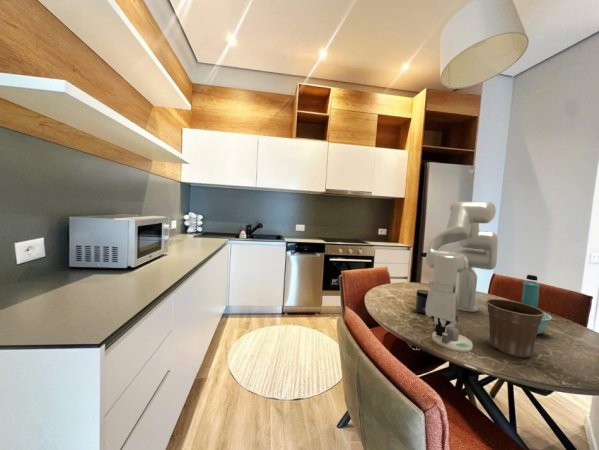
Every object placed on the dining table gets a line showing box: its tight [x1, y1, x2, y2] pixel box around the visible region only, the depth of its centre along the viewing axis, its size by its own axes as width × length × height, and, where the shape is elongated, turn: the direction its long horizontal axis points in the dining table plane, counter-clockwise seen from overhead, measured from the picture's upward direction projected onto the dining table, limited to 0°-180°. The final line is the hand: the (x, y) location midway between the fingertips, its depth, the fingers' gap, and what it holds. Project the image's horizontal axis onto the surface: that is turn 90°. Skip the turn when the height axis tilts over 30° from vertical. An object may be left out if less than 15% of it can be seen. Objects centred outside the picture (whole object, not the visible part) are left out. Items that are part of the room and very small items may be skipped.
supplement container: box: [414, 289, 429, 316], centre depth 123 cm, size 7×7×10 cm
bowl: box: [537, 312, 552, 335], centre depth 109 cm, size 16×16×8 cm
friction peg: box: [442, 326, 460, 344], centre depth 93 cm, size 10×4×4 cm, turn 129°
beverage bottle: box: [521, 274, 541, 309], centre depth 129 cm, size 6×7×20 cm
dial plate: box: [432, 330, 473, 353], centre depth 95 cm, size 13×13×2 cm
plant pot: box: [485, 298, 546, 359], centre depth 92 cm, size 16×16×16 cm
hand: (439, 334), depth 94 cm, fingers closed
